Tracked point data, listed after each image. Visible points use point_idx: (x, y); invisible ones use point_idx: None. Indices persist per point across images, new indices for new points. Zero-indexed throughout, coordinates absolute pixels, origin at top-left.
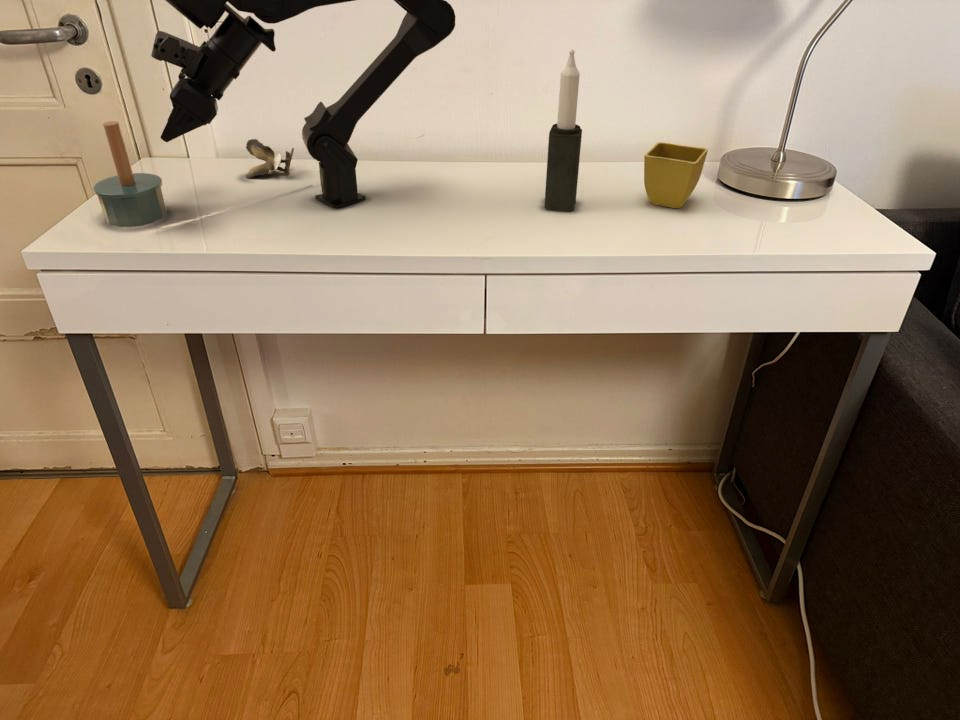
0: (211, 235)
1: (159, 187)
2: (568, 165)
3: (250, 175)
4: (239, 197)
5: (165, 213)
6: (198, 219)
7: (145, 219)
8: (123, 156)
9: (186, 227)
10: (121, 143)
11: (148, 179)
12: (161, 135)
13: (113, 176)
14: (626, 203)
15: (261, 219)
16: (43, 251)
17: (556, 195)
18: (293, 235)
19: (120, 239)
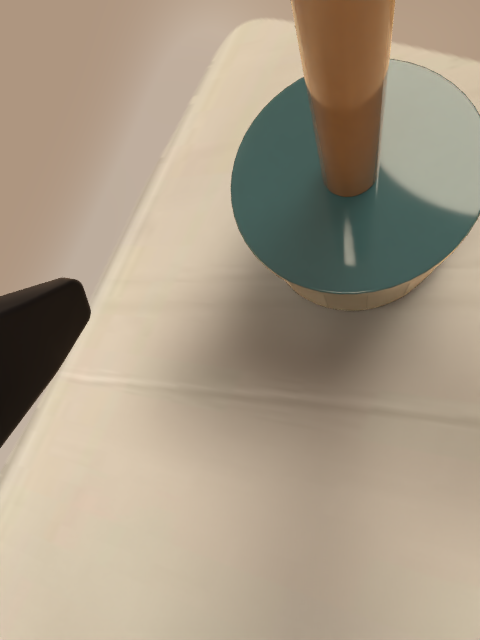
0: (146, 405)
1: (290, 283)
2: None
3: None
4: (426, 571)
5: (317, 302)
6: (271, 392)
7: None
8: (311, 112)
9: (226, 351)
10: (308, 69)
11: (368, 244)
12: (45, 283)
13: (471, 109)
14: None
15: (190, 568)
16: (227, 38)
17: None
18: (51, 607)
19: (221, 191)
